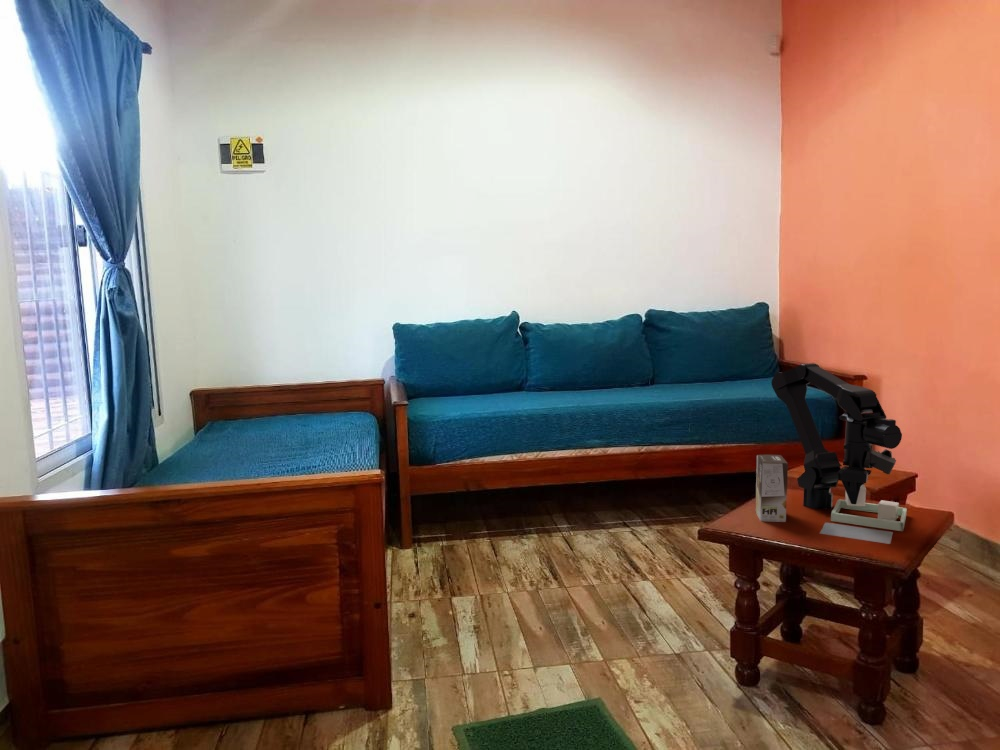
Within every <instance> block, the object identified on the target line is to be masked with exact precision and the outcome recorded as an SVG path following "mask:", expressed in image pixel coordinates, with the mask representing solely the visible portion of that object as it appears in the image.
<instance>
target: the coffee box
mask: <svg viewBox="0 0 1000 750" xmlns="http://www.w3.org/2000/svg"><path fill="white" fill-rule="evenodd" d="M788 468H789V463H788V462H787V460H786V459H785V458H784V457H783V456H782V455H781V454H757V455H756V470H755V471H756V472H755V474H756V475H755V477H756V479H755V481H756V482H755V512H756V513H755V514H756V516H757V517H758V519H759V521H760V522H773V523H775V522H776V523H777V522H779V523H780V522H781V523H786V522H787V500H788Z"/></svg>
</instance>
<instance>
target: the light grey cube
mask: <svg viewBox="0 0 1000 750" xmlns="http://www.w3.org/2000/svg"><path fill="white" fill-rule="evenodd" d="M877 504H878V513H877V519H885V520H892V521H897V519H898V518H899V516H898V509H899V507H900V503H899V502H897V501H896V502H895V501H889V500H882V499H881V500H880V501H879V502H878V503H877Z"/></svg>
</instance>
